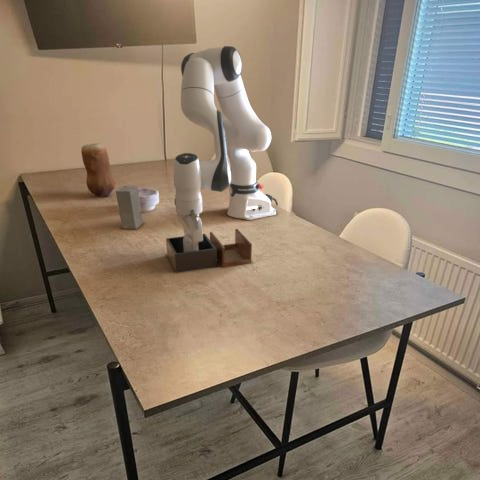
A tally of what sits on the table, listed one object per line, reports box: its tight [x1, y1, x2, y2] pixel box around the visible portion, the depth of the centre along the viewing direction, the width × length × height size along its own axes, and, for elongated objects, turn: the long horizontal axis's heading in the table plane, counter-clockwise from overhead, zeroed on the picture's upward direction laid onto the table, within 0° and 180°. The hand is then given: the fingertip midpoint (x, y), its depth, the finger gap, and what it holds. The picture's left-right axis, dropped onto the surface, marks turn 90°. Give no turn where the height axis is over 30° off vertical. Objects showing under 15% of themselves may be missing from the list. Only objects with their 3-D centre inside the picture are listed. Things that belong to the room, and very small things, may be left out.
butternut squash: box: [80, 142, 116, 198], centre depth 207 cm, size 14×13×25 cm
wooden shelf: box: [209, 228, 253, 268], centre depth 154 cm, size 11×15×7 cm
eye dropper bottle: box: [183, 235, 198, 252], centre depth 149 cm, size 4×6×12 cm
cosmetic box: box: [115, 185, 144, 230], centre depth 176 cm, size 8×7×16 cm
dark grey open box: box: [165, 233, 218, 273], centre depth 151 cm, size 15×15×7 cm
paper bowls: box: [138, 187, 160, 213], centre depth 196 cm, size 15×15×8 cm
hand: (191, 244), depth 150 cm, fingers open, 8 cm apart
